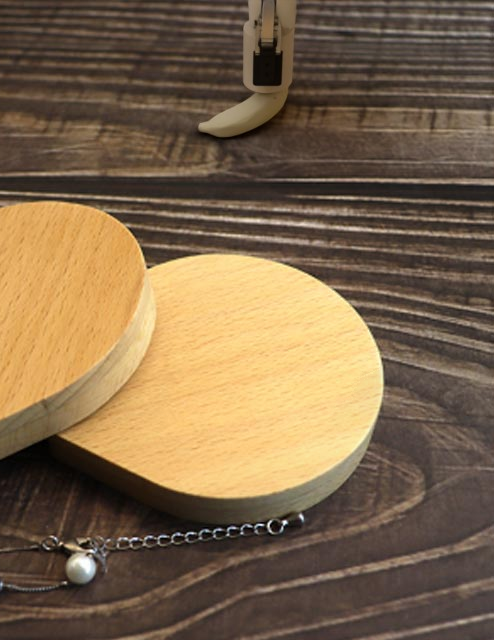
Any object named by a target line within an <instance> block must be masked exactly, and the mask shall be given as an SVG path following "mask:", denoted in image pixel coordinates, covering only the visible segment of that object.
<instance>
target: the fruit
mask: <svg viewBox="0 0 494 640" xmlns="http://www.w3.org/2000/svg"><path fill="white" fill-rule="evenodd" d="M288 95H289V87H287V88H286V89H284V90H282V91H279V92H274V93H260V92H254V93H253V94H252V95H251V96H250V97H248V98H246V99H245V100H243V101H242V102H240V103H238V104H236V105H234V106H232V107H230V108H228V109H226V110H223V111H222V112H220V113H218V114H215V115H214V116H213V117H212V118H211V119H209V120H207V121H203V122H199V124H198V131H199V132H200V133H206V134H209V135H212V136H213V137H217V138H229V137H234V136H235V137H236V136H239V135H242V134H244V133H246V132H250V131H253V130H254V129H256V128H258V127H260V126H262V125H263V124H265V123H267V122H268V121H269V120H270V119H272V118H273V117H275V116H276V115H277V114H278V113H279V112H280V111H281V109H282V108H283V107H284V105H285V103H286V101H287V98H288Z"/></svg>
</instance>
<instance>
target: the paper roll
mask: <svg viewBox="0 0 494 640" xmlns="http://www.w3.org/2000/svg"><path fill="white" fill-rule="evenodd" d="M260 24H262V19H260ZM274 24H278V19H274ZM295 26H296V25H295ZM295 26H294V27H293V28H292V29H289V28H283V27H282V30H281V51H283V63H282V84H281V85H280V86H254V85H253V51H255V40H256V29H255V30H254V29H253V28H251V26H250V24H249V20H247V21H246V22H245V23H244V25H243V32H242V36H243V38H242V39H243V40H242V41H243V46H242V63H243V64H242V67H243V68H242V83H243V85H244V86H245V87H246V88H247V89H248V90H251V91H252V92H254V93H256V92H260V93H274V92H279V91H282V90H284V89H286V88H287V87H288V88H289V87H290V86H291V85H292V83H293V73H294V53H295V51H294V50H295V29H296V28H295ZM276 32H277V31H274V34H273V38H276ZM261 38H262V31H261Z"/></svg>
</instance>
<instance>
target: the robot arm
mask: <svg viewBox="0 0 494 640" xmlns="http://www.w3.org/2000/svg"><path fill="white" fill-rule="evenodd" d="M247 3H248V4H247V5H248V6H247V7H248V21H249V24H250V26H251V28H253V29H254V30H255V29H256V40H255V51H253V85H254V86H280V85H281V84H282V63H283V51H281V30H282V27H283V28H289V29H292V28H293V27H294V26H296V18H297V5H298V0H247ZM260 19H262V24H260ZM274 19H278V24H274ZM261 31H262V38H261ZM274 31H277V32H276V38H273V34H274Z"/></svg>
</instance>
